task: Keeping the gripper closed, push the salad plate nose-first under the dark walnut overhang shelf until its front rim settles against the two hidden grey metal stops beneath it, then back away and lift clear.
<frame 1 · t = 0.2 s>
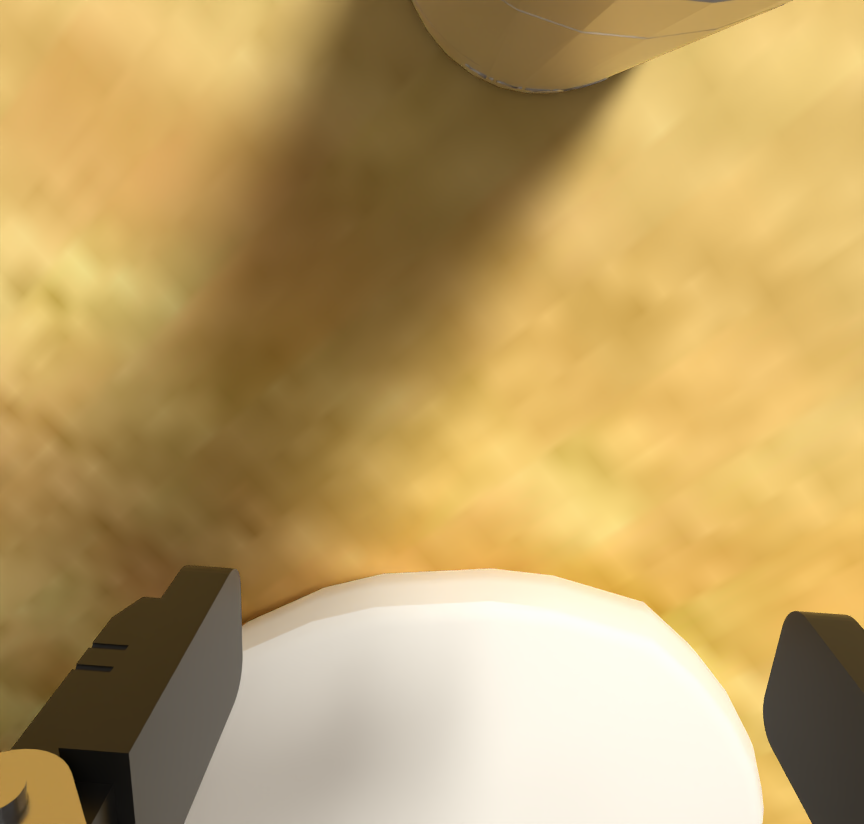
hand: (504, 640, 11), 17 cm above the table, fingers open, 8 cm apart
white round disc: (440, 778, 35), on the table
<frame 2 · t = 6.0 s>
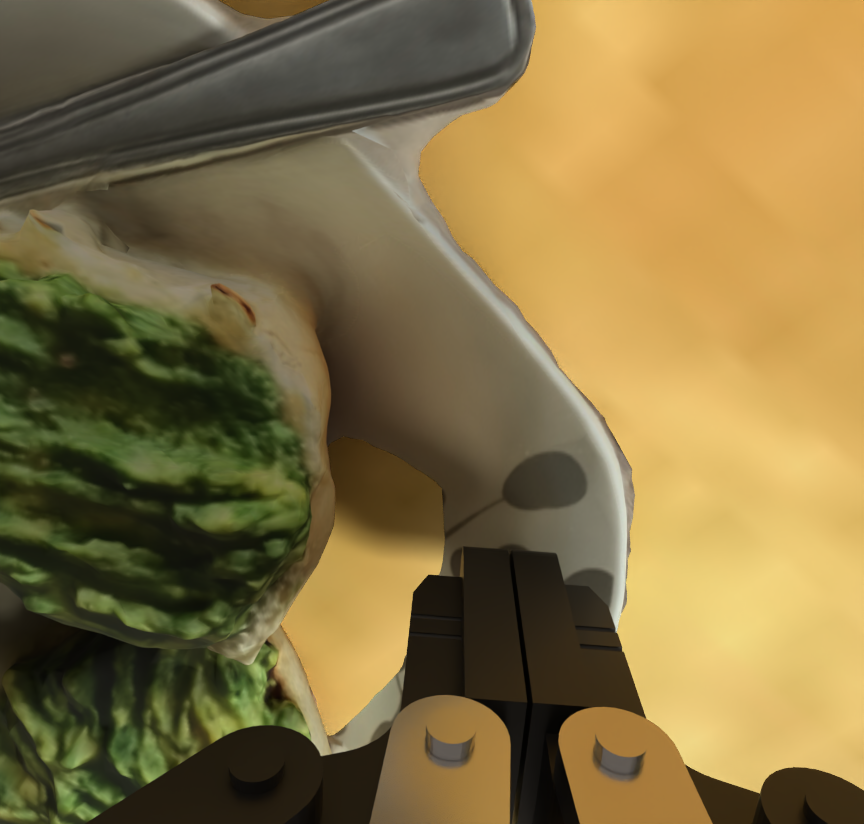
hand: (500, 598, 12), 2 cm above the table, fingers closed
salad plate: (87, 515, 14), on the table, touching gripper
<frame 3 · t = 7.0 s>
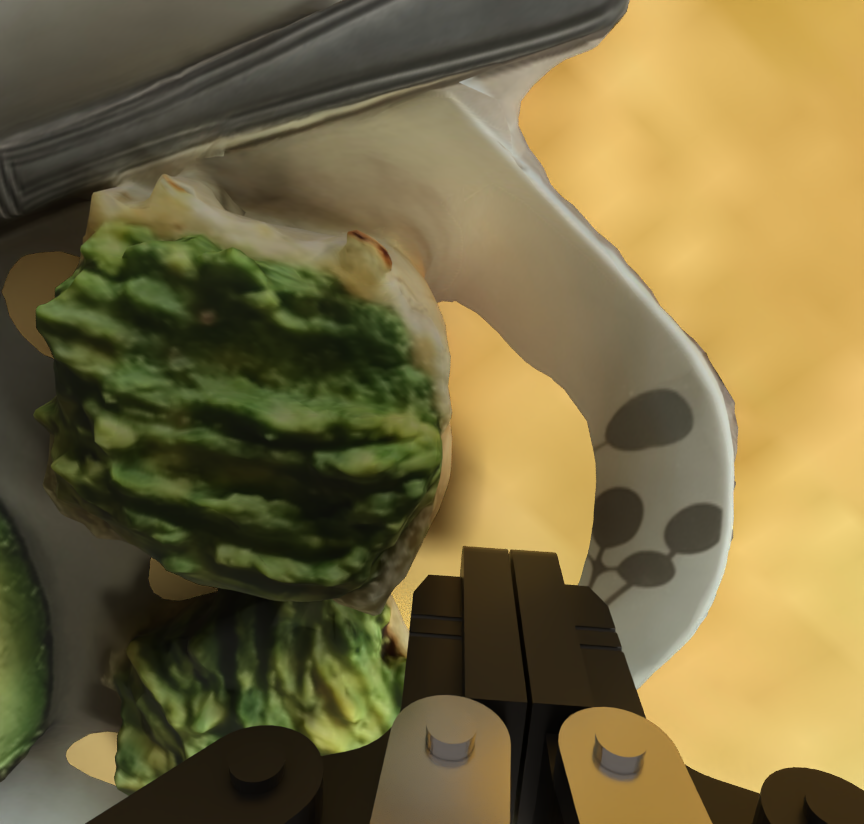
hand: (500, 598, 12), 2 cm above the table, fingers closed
salad plate: (189, 491, 14), on the table, touching gripper
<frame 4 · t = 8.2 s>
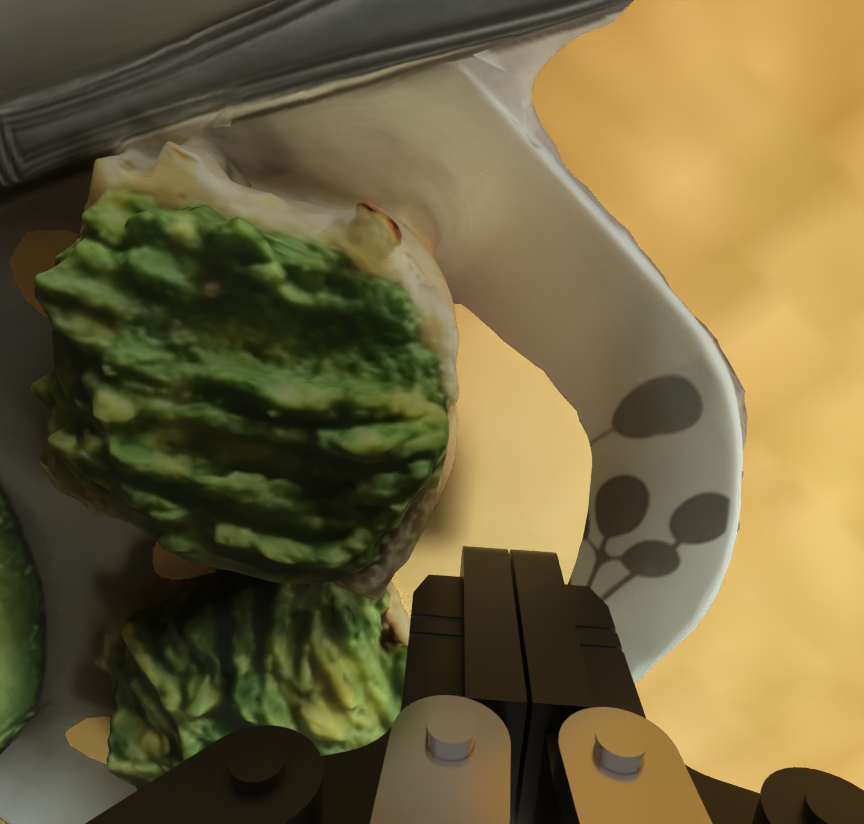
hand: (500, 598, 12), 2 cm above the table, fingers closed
salad plate: (187, 473, 14), on the table, touching gripper
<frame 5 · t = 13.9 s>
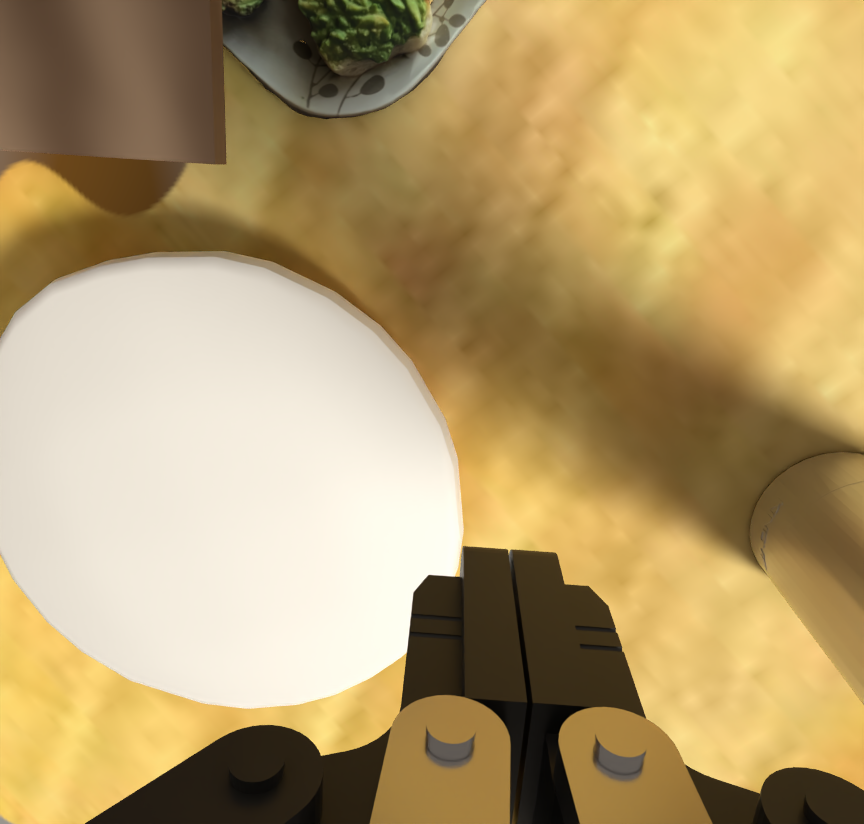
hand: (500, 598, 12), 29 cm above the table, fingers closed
white round disc: (239, 477, 44), on the table
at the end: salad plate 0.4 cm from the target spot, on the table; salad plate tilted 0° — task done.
